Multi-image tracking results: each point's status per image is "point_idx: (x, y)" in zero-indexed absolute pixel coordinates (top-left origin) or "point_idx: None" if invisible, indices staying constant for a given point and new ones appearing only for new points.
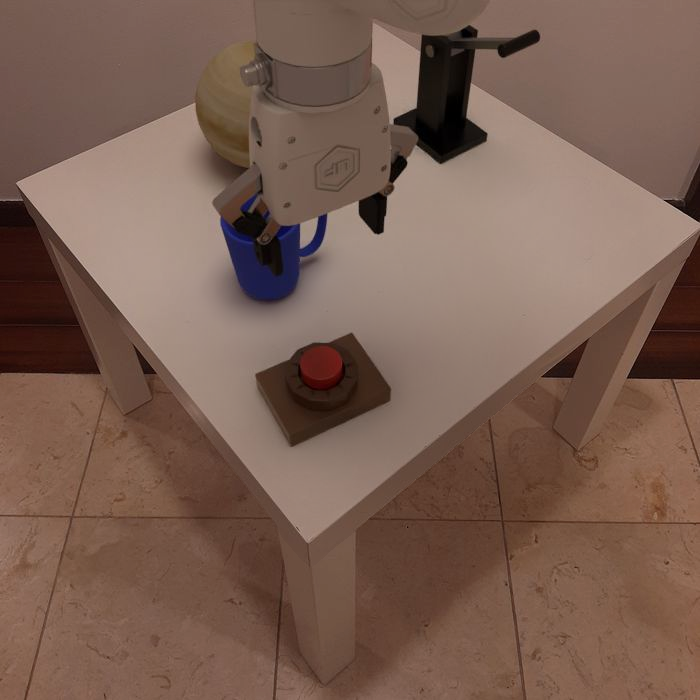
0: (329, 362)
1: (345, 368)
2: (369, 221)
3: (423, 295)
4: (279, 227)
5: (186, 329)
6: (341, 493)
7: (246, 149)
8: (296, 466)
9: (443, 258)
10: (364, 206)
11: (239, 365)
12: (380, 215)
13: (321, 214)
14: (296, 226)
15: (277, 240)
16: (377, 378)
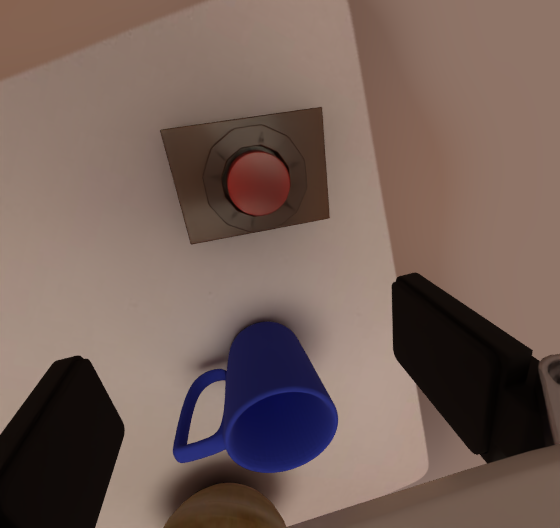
0: (247, 180)
1: (222, 173)
2: (93, 404)
3: (71, 286)
4: (554, 425)
5: (363, 306)
6: (275, 3)
7: (252, 518)
8: (316, 77)
9: (26, 337)
10: (92, 462)
11: (329, 246)
12: (24, 425)
13: (431, 513)
14: (238, 411)
15: (498, 366)
16: (176, 155)
